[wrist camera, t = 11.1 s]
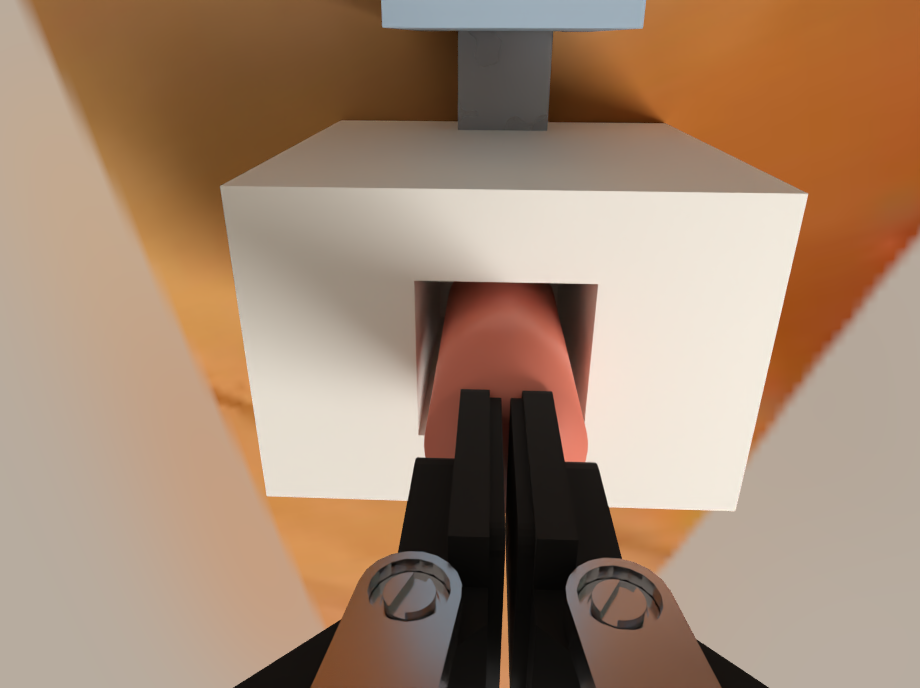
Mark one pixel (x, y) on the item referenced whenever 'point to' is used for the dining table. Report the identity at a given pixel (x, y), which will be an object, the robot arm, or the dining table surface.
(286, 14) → the dining table surface
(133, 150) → the dining table surface
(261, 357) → the cabinet
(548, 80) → the rail
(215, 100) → the dining table surface
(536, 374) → the button
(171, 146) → the dining table surface
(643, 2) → the carriage
